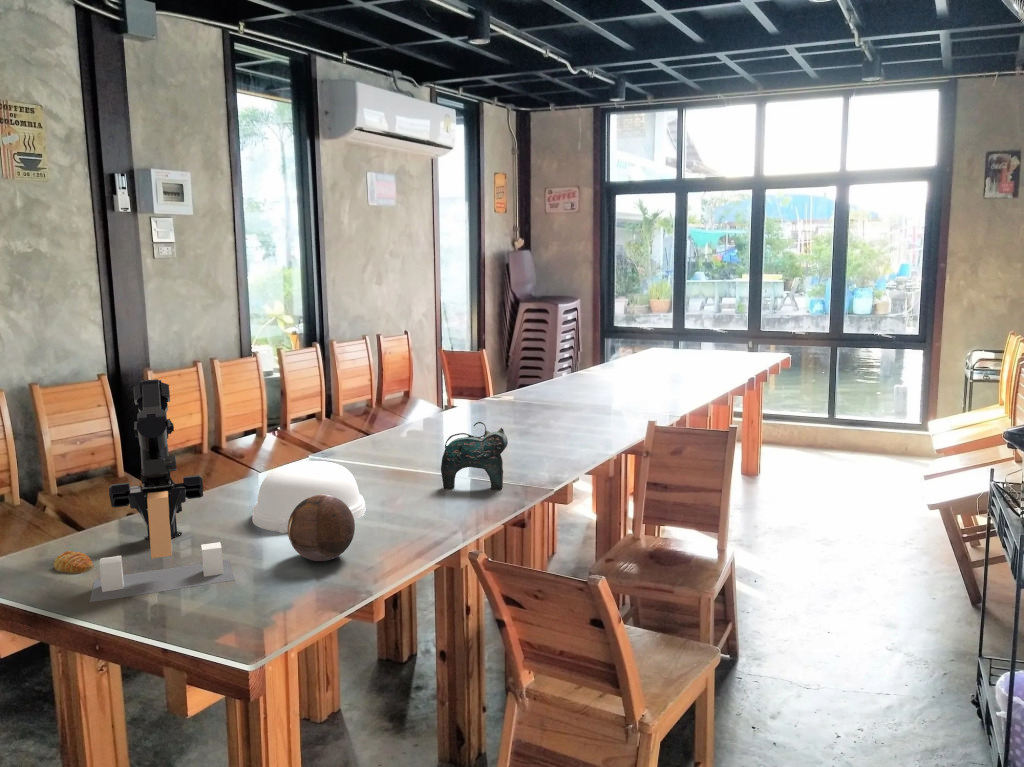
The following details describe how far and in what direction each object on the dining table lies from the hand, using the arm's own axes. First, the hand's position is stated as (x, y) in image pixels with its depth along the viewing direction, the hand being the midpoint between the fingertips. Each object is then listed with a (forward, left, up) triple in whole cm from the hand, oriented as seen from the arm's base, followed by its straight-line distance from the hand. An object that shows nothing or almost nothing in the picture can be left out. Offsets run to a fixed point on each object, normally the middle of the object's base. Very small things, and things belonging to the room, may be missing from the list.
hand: (159, 525), depth 182 cm
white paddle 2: (-7, +7, -12) cm, 16 cm away
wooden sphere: (-24, +24, -13) cm, 36 cm away
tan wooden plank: (-1, -1, -7) cm, 7 cm away
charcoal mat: (0, 0, -13) cm, 13 cm away
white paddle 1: (+7, -7, -12) cm, 16 cm away
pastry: (0, -26, -13) cm, 29 cm away
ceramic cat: (-91, +31, -13) cm, 97 cm away
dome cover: (-52, 0, -13) cm, 54 cm away
